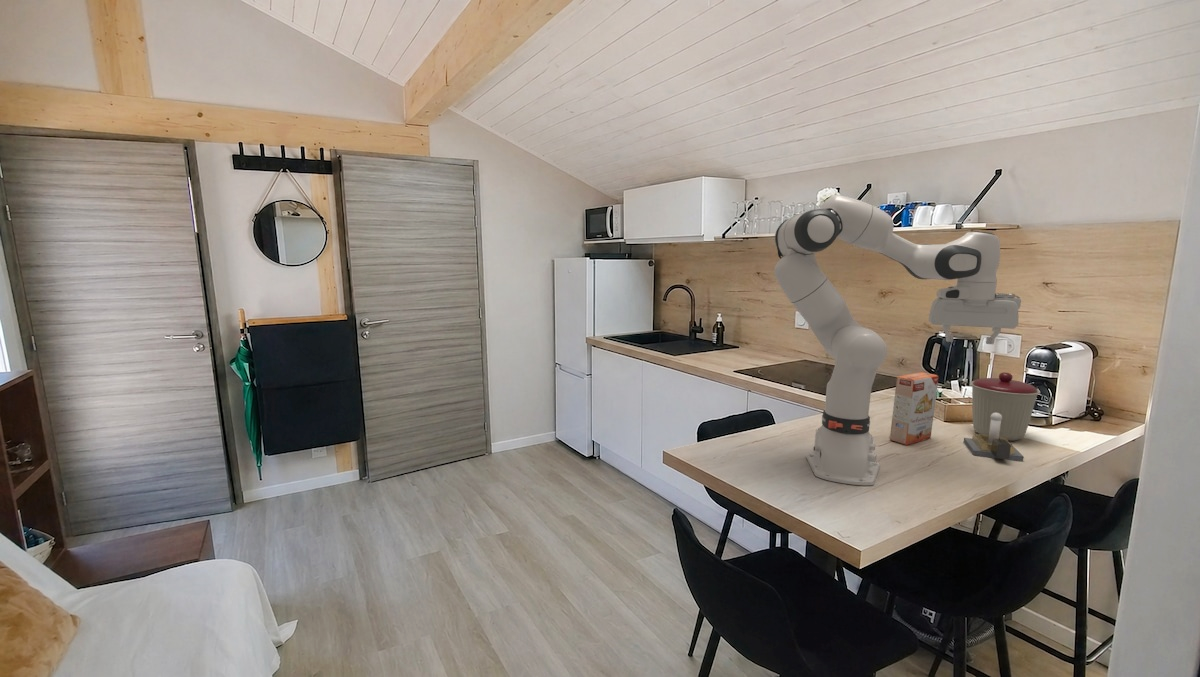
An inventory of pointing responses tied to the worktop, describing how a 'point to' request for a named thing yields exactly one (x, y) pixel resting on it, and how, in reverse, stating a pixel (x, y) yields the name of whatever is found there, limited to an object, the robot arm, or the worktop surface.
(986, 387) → the canister
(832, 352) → the robot arm
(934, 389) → the cracker box
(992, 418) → the stand
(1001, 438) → the link
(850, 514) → the worktop surface
